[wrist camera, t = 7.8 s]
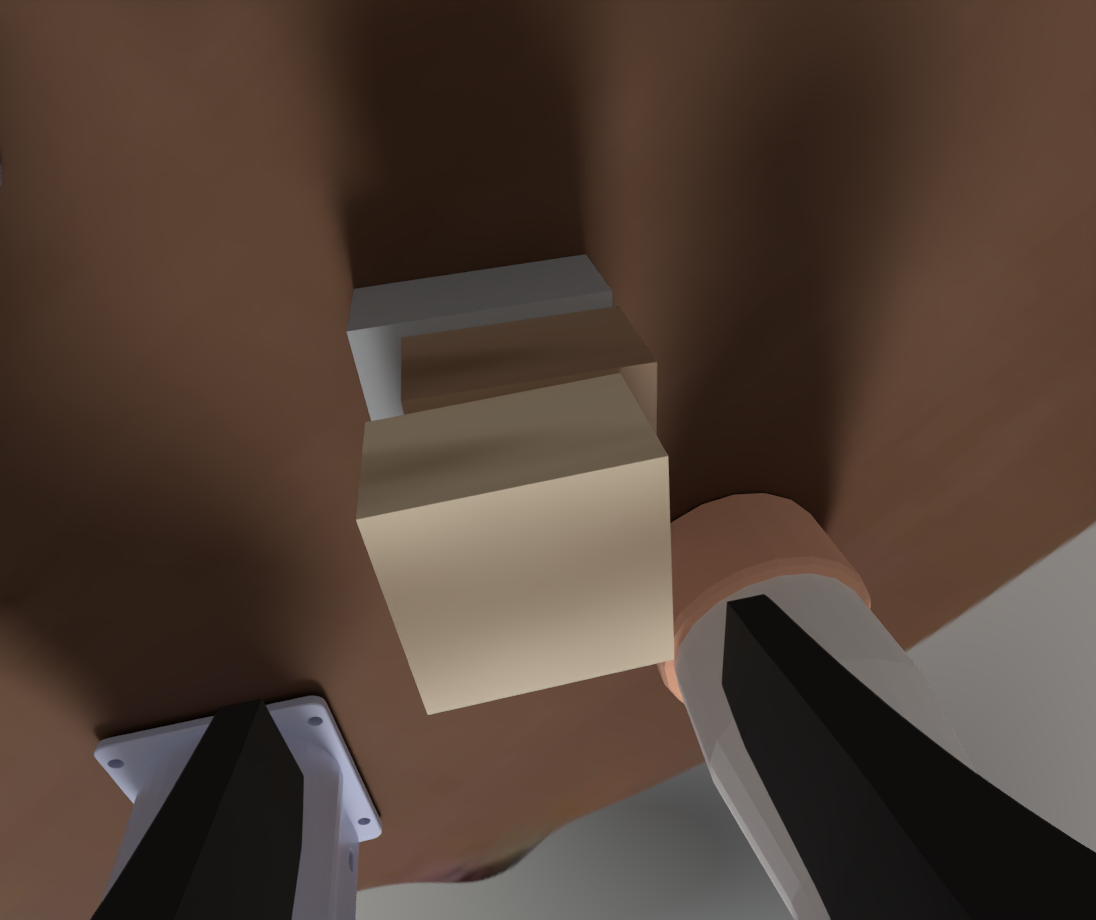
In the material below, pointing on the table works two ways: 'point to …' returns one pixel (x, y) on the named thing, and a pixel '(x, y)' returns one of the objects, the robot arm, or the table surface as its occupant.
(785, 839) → the pepper shaker
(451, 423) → the oak block
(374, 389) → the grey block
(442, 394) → the walnut block
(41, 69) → the table surface
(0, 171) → the stone block
